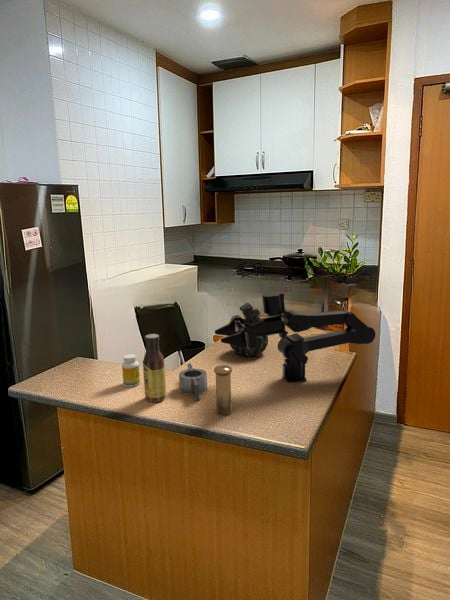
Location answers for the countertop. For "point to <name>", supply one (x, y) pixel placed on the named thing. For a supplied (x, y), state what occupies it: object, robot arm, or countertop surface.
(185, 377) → the grey ring with arms
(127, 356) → the supplement bottle
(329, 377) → the countertop surface
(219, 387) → the pin
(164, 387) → the sauce bottle
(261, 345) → the squash
